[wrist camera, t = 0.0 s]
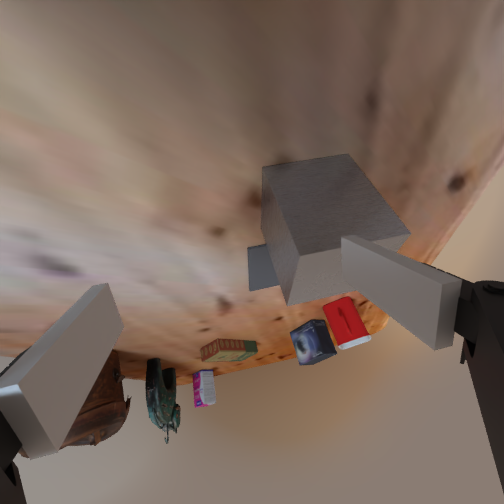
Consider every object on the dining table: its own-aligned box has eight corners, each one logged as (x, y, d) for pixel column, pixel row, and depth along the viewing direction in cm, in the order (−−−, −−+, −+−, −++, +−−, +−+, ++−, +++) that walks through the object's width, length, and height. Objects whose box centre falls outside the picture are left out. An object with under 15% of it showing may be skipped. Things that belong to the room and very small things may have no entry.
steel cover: (262, 166, 27) (299, 255, 20) (348, 153, 28) (411, 233, 21) (260, 228, 35) (286, 306, 28) (327, 215, 36) (367, 287, 29)
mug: (353, 303, 71) (371, 339, 65) (326, 313, 73) (341, 350, 67) (348, 290, 62) (369, 331, 56) (317, 302, 64) (334, 343, 58)
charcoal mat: (247, 247, 38) (248, 249, 38) (356, 226, 40) (357, 228, 40) (249, 289, 49) (249, 291, 49) (333, 271, 51) (334, 273, 51)
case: (112, 369, 69) (105, 449, 59) (21, 369, 55) (-10, 474, 45) (149, 346, 62) (149, 432, 52) (55, 338, 48) (29, 455, 37)
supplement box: (201, 369, 93) (204, 404, 87) (213, 369, 97) (217, 402, 91) (191, 374, 96) (194, 408, 89) (203, 373, 100) (207, 406, 93)
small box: (310, 318, 74) (324, 354, 68) (324, 319, 78) (338, 353, 72) (288, 332, 80) (299, 366, 74) (302, 332, 84) (313, 364, 78)
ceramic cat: (179, 369, 86) (183, 439, 75) (160, 374, 85) (161, 445, 74) (162, 355, 70) (164, 442, 58) (138, 361, 69) (135, 450, 58)
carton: (217, 337, 69) (219, 352, 66) (256, 339, 80) (259, 353, 77) (199, 347, 73) (201, 363, 70) (238, 349, 84) (241, 362, 81)
